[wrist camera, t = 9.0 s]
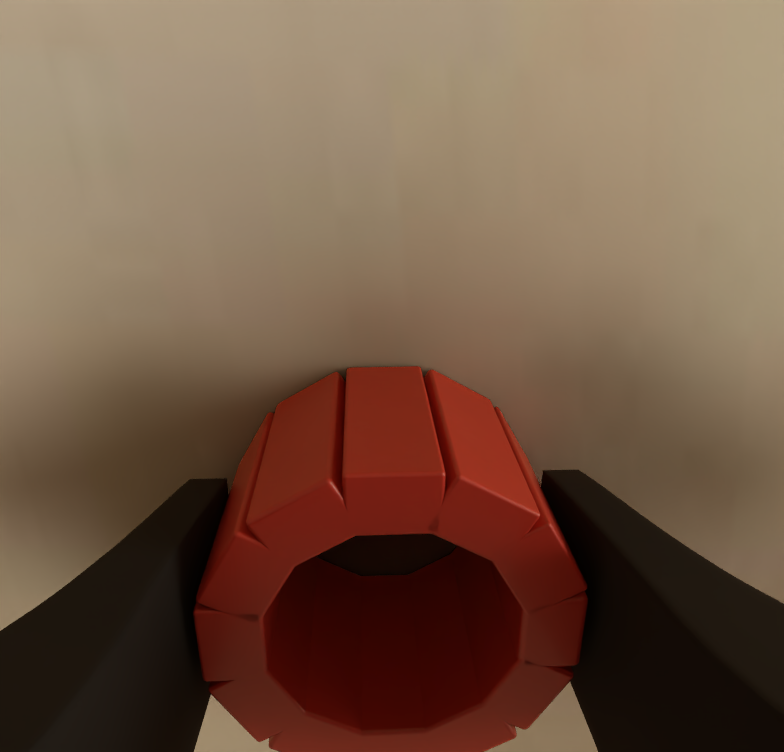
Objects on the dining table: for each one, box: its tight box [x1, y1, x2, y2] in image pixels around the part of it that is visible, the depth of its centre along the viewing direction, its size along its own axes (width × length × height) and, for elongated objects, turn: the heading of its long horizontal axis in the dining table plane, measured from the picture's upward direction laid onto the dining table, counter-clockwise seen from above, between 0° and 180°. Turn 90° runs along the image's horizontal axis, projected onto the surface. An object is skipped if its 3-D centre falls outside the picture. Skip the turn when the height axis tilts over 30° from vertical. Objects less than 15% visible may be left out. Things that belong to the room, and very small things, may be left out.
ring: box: [193, 366, 588, 752], centre depth 10 cm, size 5×5×3 cm
